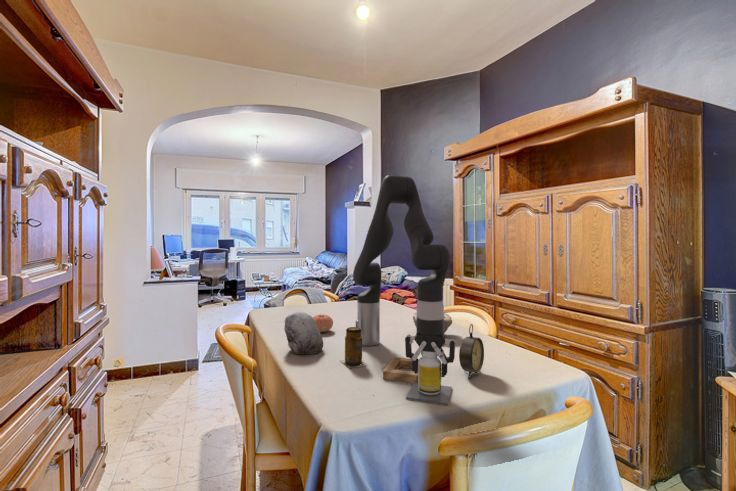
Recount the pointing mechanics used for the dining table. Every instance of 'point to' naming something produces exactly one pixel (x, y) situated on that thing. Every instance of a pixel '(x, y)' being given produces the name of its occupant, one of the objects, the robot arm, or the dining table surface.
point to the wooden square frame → (399, 375)
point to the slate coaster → (436, 399)
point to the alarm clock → (471, 354)
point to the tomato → (323, 322)
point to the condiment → (353, 348)
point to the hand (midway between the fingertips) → (429, 374)
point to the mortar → (446, 321)
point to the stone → (302, 334)
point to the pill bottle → (429, 373)
